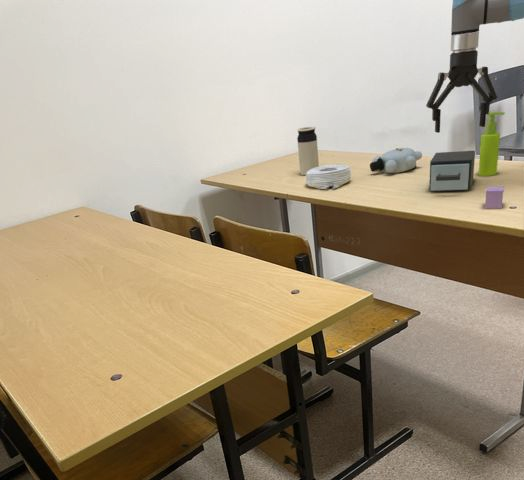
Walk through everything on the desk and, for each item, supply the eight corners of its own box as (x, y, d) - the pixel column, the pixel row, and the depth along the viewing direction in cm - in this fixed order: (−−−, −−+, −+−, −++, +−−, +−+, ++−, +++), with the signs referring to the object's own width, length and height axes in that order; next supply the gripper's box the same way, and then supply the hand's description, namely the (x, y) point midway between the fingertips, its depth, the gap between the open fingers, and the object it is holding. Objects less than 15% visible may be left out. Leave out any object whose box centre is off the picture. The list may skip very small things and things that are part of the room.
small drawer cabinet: (469, 190, 171) (471, 159, 166) (429, 191, 175) (430, 161, 171) (473, 179, 182) (475, 150, 177) (435, 181, 187) (435, 152, 182)
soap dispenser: (497, 175, 182) (503, 113, 173) (476, 175, 186) (480, 114, 176) (501, 171, 186) (506, 110, 177) (480, 172, 190) (485, 111, 180)
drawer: (466, 193, 165) (467, 167, 161) (428, 194, 169) (428, 169, 165) (470, 179, 179) (472, 155, 175) (435, 180, 184) (436, 157, 180)
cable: (332, 191, 193) (331, 174, 190) (296, 188, 204) (294, 172, 201) (360, 179, 203) (359, 163, 200) (323, 177, 215) (322, 162, 212)
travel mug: (307, 176, 220) (304, 130, 212) (296, 174, 226) (292, 129, 218) (323, 172, 224) (319, 126, 215) (311, 170, 230) (308, 126, 221)
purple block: (502, 204, 154) (503, 186, 151) (501, 208, 150) (503, 190, 148) (485, 204, 155) (487, 187, 153) (484, 208, 152) (486, 191, 150)
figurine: (407, 161, 218) (363, 175, 216) (405, 140, 214) (360, 154, 212) (430, 168, 203) (383, 183, 201) (428, 145, 199) (380, 160, 197)
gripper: (503, 45, 156) (496, 122, 166) (417, 56, 157) (415, 132, 168) (513, 44, 149) (505, 125, 159) (423, 57, 151) (421, 136, 161)
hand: (459, 129), depth 163 cm, fingers open, 13 cm apart
